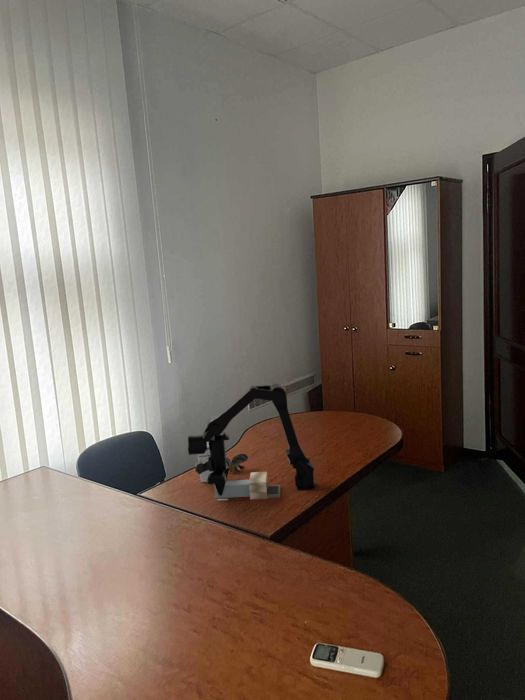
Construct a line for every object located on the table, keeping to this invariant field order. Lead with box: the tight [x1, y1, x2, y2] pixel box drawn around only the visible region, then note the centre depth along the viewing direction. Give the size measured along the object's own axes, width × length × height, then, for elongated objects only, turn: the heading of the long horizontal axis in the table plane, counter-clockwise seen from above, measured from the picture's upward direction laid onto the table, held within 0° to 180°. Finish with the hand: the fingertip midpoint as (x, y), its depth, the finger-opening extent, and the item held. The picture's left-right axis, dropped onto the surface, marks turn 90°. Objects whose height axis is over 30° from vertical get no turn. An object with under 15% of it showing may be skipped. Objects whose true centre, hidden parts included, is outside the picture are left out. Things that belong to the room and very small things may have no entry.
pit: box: [267, 484, 281, 499], centre depth 200 cm, size 5×9×1 cm, turn 177°
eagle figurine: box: [227, 453, 249, 474], centre depth 224 cm, size 8×7×9 cm
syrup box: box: [197, 442, 213, 483], centre depth 216 cm, size 6×6×14 cm
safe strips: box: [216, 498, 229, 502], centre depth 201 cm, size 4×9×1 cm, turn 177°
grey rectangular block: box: [213, 479, 250, 499], centre depth 201 cm, size 14×4×5 cm, turn 87°
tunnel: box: [248, 471, 269, 500], centre depth 200 cm, size 6×10×6 cm, turn 177°
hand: (221, 492), depth 201 cm, fingers closed on grey rectangular block, 4 cm apart
